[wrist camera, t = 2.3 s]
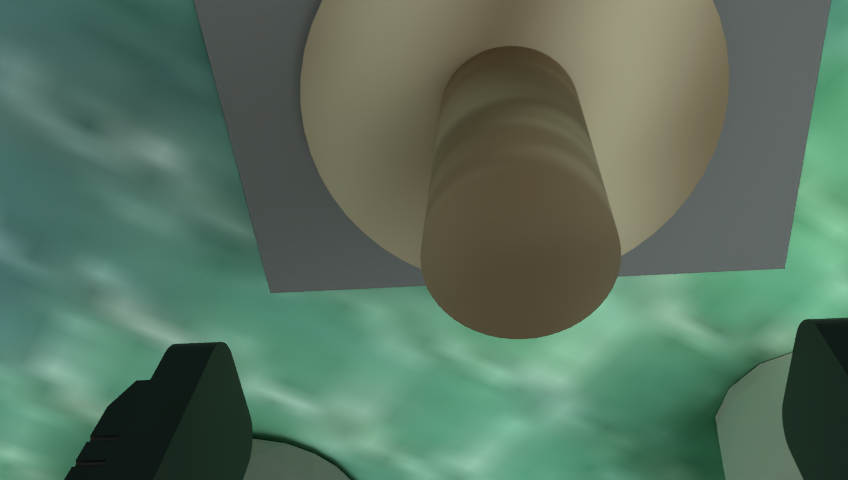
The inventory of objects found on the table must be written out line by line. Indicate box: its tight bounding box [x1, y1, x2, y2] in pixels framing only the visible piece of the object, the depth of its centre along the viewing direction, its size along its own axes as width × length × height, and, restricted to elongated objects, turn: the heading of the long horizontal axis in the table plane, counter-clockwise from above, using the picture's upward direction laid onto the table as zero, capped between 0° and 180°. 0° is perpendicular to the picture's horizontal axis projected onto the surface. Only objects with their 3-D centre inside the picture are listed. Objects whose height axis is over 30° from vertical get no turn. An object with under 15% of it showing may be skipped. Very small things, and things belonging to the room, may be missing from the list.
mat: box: [194, 0, 831, 293], centre depth 21 cm, size 16×12×1 cm
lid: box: [300, 0, 729, 339], centre depth 17 cm, size 11×11×8 cm
